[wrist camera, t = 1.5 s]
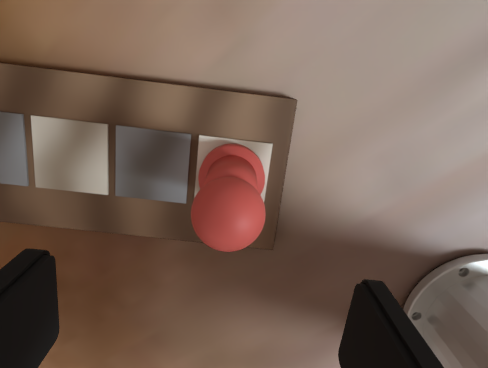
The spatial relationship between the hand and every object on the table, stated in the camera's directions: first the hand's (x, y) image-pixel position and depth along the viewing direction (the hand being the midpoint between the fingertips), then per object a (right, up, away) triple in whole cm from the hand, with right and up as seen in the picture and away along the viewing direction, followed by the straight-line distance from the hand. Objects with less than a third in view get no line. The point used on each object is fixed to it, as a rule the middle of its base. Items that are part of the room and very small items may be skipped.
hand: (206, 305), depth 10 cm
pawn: (0, +4, +15) cm, 16 cm away
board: (-9, +6, +16) cm, 19 cm away
